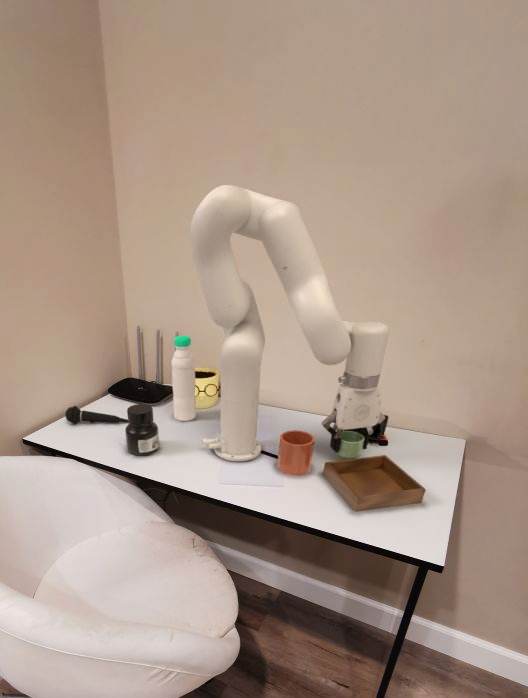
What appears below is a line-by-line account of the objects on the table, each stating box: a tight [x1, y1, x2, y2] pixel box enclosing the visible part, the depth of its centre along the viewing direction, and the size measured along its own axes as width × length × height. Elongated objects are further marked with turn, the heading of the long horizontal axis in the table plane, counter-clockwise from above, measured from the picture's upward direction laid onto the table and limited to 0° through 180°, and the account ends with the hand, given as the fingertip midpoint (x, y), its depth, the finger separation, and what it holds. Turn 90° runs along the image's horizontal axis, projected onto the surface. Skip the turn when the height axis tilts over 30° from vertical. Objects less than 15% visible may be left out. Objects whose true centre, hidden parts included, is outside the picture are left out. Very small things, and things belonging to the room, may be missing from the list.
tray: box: [322, 454, 426, 513], centre depth 98 cm, size 15×15×4 cm
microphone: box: [64, 405, 129, 425], centre depth 135 cm, size 6×6×20 cm
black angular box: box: [343, 414, 389, 445], centre depth 118 cm, size 10×7×7 cm
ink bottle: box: [125, 403, 160, 456], centre depth 117 cm, size 10×9×12 cm
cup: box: [276, 429, 316, 477], centre depth 105 cm, size 8×8×8 cm
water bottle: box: [170, 335, 197, 422], centre depth 130 cm, size 7×7×25 cm
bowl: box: [333, 430, 365, 459], centre depth 108 cm, size 6×6×4 cm
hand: (348, 447), depth 108 cm, fingers closed on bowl, 6 cm apart
